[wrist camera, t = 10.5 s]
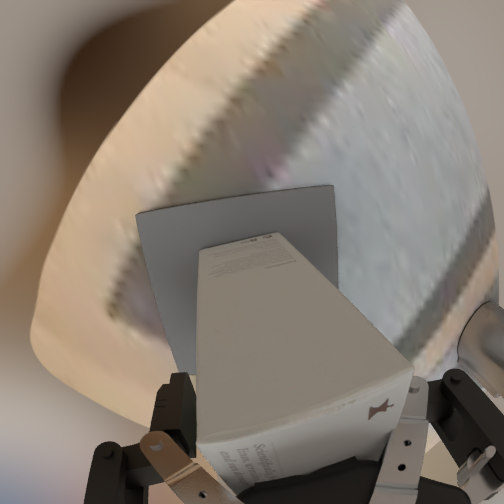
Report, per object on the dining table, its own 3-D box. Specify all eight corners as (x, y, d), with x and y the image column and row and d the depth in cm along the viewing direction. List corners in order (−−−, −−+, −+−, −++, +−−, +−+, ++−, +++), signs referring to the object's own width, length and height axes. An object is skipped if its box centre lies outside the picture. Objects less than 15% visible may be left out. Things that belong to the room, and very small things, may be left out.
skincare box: (198, 248, 19) (168, 434, 5) (283, 228, 19) (427, 359, 5) (226, 346, 21) (249, 524, 7) (299, 328, 22) (382, 485, 8)
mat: (333, 342, 24) (336, 347, 23) (181, 370, 22) (180, 376, 22) (329, 185, 20) (333, 185, 19) (138, 213, 18) (135, 214, 18)
